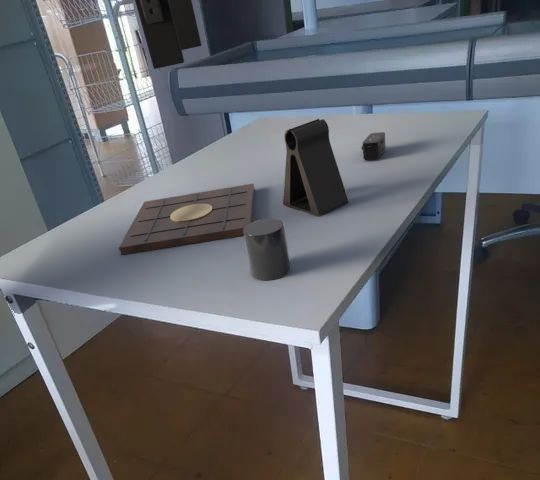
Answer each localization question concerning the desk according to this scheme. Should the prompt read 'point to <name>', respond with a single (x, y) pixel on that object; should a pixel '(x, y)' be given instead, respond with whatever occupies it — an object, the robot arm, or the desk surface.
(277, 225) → the dark grey canister
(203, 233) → the grid board
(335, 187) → the black triangular stand
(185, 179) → the desk surface
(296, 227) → the desk surface
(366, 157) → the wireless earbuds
